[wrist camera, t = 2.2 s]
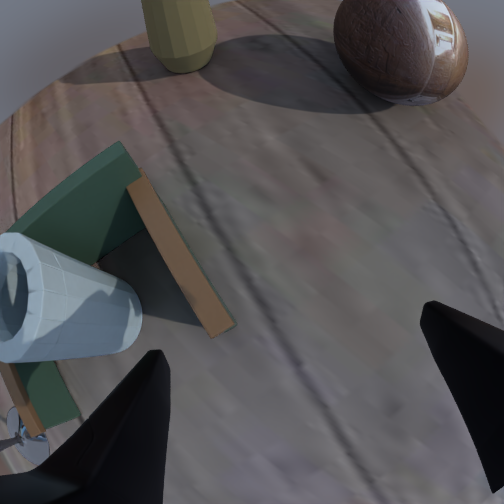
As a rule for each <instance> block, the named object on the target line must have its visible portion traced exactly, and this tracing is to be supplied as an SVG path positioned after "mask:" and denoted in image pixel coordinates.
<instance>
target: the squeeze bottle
mask: <svg viewBox="0 0 504 504" xmlns="http://www.w3.org/2000/svg"><path fill="white" fill-rule="evenodd" d="M141 2H142V8H143V13H144V19H145V24H146V29H147V34H148V39H149V44H150V49H151V51H152V52H153V54H154V55H155V56H156V57H157V58H158V59H159V60H160V62H161V63H162V64H163V65H164V66H165V67H166V68H167V69H168V70H169V71H172V72H174V73H188V72H193V71H195V70H198V69H200V68H202V67H204V66H205V65H206V64H208V62H209V61H210V59H211V58H212V54H213V50H214V47H215V43H216V40H217V29H216V26H215V22H214V18H213V15H212V11H211V8H210V4H209V1H208V0H141Z"/></svg>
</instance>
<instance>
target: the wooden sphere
mask: <svg viewBox="0 0 504 504" xmlns="http://www.w3.org/2000/svg"><path fill="white" fill-rule="evenodd" d="M334 41H335V46H336V49H337V52H338V55H339V57H340V59H341V61H342V63H343V64H344V66H345V68H346V69H347V71H348V72H349V73H350V74H351V76H352V77H353V78H354V79H355V80H356V81H357V82H358V83H359V84H360V85H361V86H363V87H364V88H365V89H367V90H368V91H369V92H371V93H373V94H374V95H376V96H378V97H380V98H382V99H384V100H387V101H390V102H393V103H396V104H401V105H409V106H419V105H427V104H431V103H434V102H437V101H439V100H441V99H443V98H445V97H447V96H448V95H449V94H451V93H452V92H453V91H454V90H455V89H456V88H457V87H458V85H459V84H460V82H461V81H462V79H463V77H464V75H465V72H466V69H467V65H468V44H467V40H466V36H465V33H464V31H463V28H462V26H461V24H460V22H459V21H458V19H457V17H456V16H455V14H454V13H453V12H452V10H451V9H450V8H449V7H448V6H447V5H446V4H445V3H444V2H443V1H442V0H343V1H342V3H341V4H340V6H339V8H338V10H337V13H336V16H335V20H334Z"/></svg>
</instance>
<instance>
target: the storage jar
mask: <svg viewBox="0 0 504 504" xmlns="http://www.w3.org/2000/svg"><path fill="white" fill-rule="evenodd" d="M141 325H142V307H141V303H140V300H139V298H138V295H137V294H136V292H135V291H134V289H133V288H132V287H131V286H130V285H129V284H128V283H127V282H125V281H124V280H122V279H119V278H118V277H116V276H114V275H111V274H109V273H106V272H104V271H102V270H99V269H97V268H95V267H92V266H90V265H88V264H85V263H83V262H81V261H78V260H76V259H74V258H72V257H69V256H67V255H65V254H63V253H61V252H58V251H56V250H54V249H52V248H50V247H48V246H46V245H43V244H41V243H39V242H37V241H35V240H33V239H31V238H29V237H27V236H25V235H23V234H21V233H3V234H1V235H0V361H2V362H4V363H23V362H40V361H53V360H65V359H75V358H85V357H94V356H102V355H110V354H113V353H118V352H121V351H124V350H125V349H127V348H128V347H130V346H131V345H132V344H133V343H134V341H135V340H136V338H137V336H138V335H139V332H140V329H141Z"/></svg>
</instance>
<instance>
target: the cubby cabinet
mask: <svg viewBox="0 0 504 504" xmlns="http://www.w3.org/2000/svg"><path fill="white" fill-rule="evenodd" d="M145 227H146V228H147V230H148V232H149V234H150V236H151V237H152V239H153V241H154V243H155V245H156V247H157V249H158V250H159V252H160V254H161V256H162V258H163V259H164V261H165V263H166V265H167V267H168V268H169V270H170V272H171V274H172V275H173V277H174V279H175V281H176V282H177V284H178V286H179V287H180V289H181V291H182V293H183V294H184V296H185V298H186V299H187V301H188V303H189V304H190V306H191V308H192V309H193V311H194V313H195V314H196V316H197V317H198V319H199V321H200V322H201V324H202V325H203V327H204V329H205V330H206V332H207V333H208V335H209V337H210V338H211V339H212V338H215V337H216V336H218V335H220V334H221V333H223V332H227V331H229V330H230V329H232V328H233V327H235V326H236V325H237V322H236V321H235V319H234V318H233V316H232V315H231V313H230V311H229V310H228V308H227V307H226V305H225V304H224V302H223V301H222V299H221V297H220V296H219V294H218V293H217V291H216V289H215V288H214V286H213V285H212V283H211V282H210V280H209V278H208V277H207V275H206V273H205V272H204V270H203V269H202V267H201V265H200V264H199V262H198V260H197V259H196V257H195V256H194V254H193V252H192V251H191V249H190V247H189V246H188V244H187V242H186V241H185V239H184V237H183V236H182V234H181V232H180V230H179V229H178V227H177V225H176V224H175V222H174V220H173V219H172V217H171V215H170V213H169V212H168V210H167V208H166V206H165V205H164V203H163V202H162V200H161V199H160V197H159V196H158V195H157V193H156V192H155V190H154V189H153V187H152V185H151V183H150V182H149V180H148V178H147V176H146V174H145V172H144V171H143V170H142V168H138V166H137V165H136V164H135V162H134V161H133V159H132V158H131V156H130V155H129V153H128V152H127V151H126V149H125V148H124V146H123V145H122V143H121V142H120V141H117V142H116V143H114V144H113V145H111V146H110V147H108V148H107V149H105V150H104V151H103V152H101V153H100V154H98V155H97V156H95V157H94V158H93V159H91V160H90V161H88V162H87V163H86V164H84V165H83V166H82V167H80V168H79V169H78V170H76V171H75V172H74V173H72V174H71V175H70V176H69V177H67V178H66V179H65V180H64V181H62V182H61V183H60V184H59V185H57V186H56V187H55V188H54V189H52V190H51V191H50V192H49V193H48V194H46V195H45V196H44V197H43V198H42V199H41V200H39V201H38V202H37V203H36V204H35V205H34V206H33V207H32V208H30V209H29V210H28V211H27V212H26V213H25V214H24V215H23V216H22V217H21V218H20V219H19V220H18V221H17V222H15V223H14V224H13V225H12V226H11V227H10V228H9V229H8V230H7V231H6V232H5V233H21V234H23V235H25V236H27V237H29V238H31V239H33V240H35V241H37V242H39V243H41V244H43V245H46V246H48V247H50V248H52V249H54V250H56V251H58V252H61V253H63V254H65V255H67V256H69V257H72V258H74V259H76V260H78V261H81V262H83V263H85V264H88V265H90V266H91V265H92V264H94V263H95V262H96V261H98V260H99V259H101V258H102V257H103V256H105V255H106V254H108V253H109V252H110V251H112V250H113V249H115V248H116V247H117V246H119V245H120V244H122V243H123V242H125V241H126V240H127V239H129V238H130V237H132V236H133V235H135V234H136V233H138V232H139V231H141V230H142V229H144V228H145ZM0 372H1V374H2V377H3V380H4V382H5V384H6V387H7V389H8V392H9V394H10V396H11V398H12V401H13V403H14V405H15V407H16V409H17V411H18V413H19V415H20V417H21V419H22V421H23V423H24V425H25V427H26V429H27V431H28V433H29V434H30V436H31V437H35V436H37V435H39V434H41V433H43V432H46V429H49V428H51V427H54V426H57V425H59V424H62V423H64V422H67V421H69V420H72V419H74V418H76V417H78V416H80V415H81V413H80V412H79V410H78V408H77V406H76V405H75V403H74V401H73V399H72V397H71V395H70V393H69V392H68V390H67V388H66V386H65V384H64V382H63V380H62V378H61V376H60V374H59V371H58V369H57V367H56V365H55V363H54V361H40V362H23V363H4V362H2V361H0Z"/></svg>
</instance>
